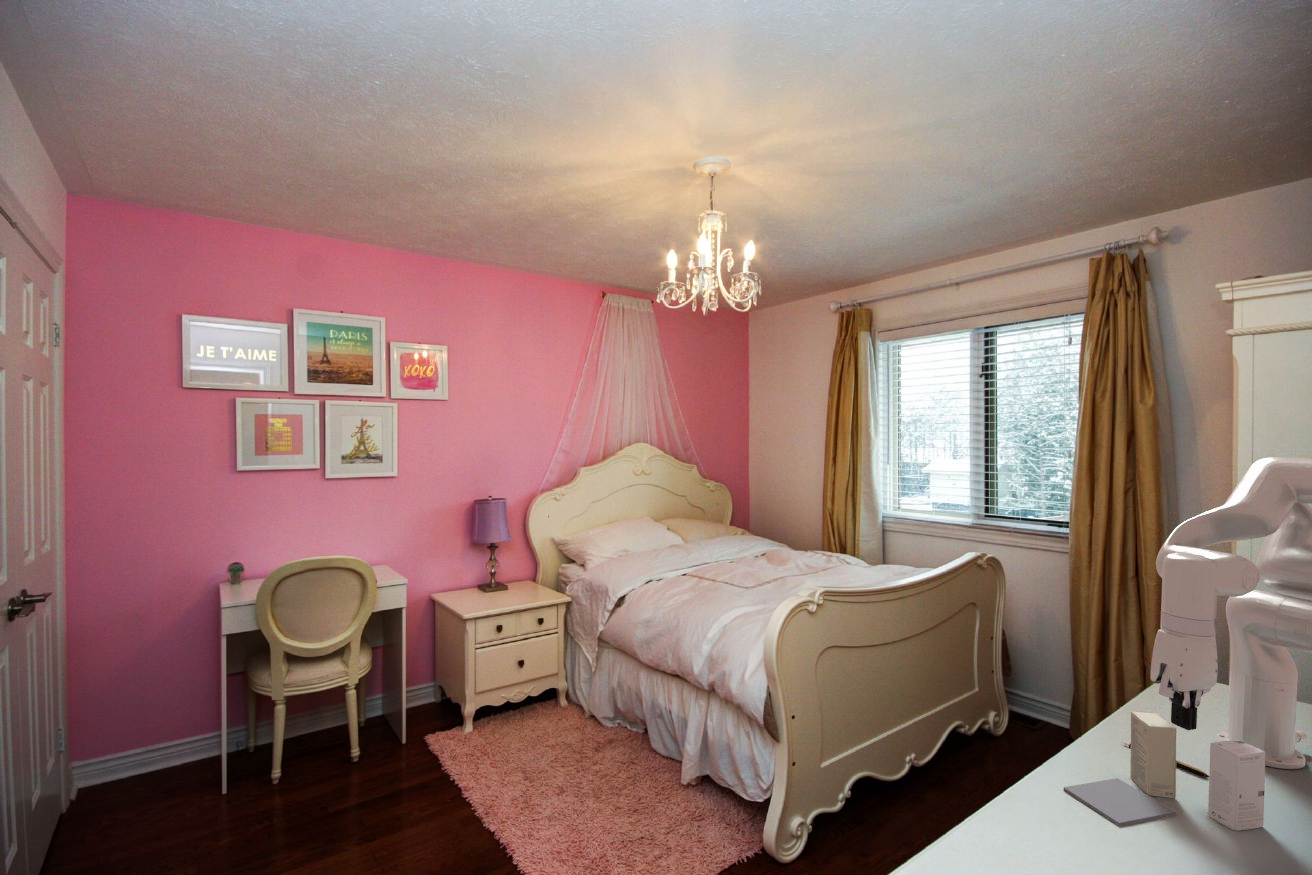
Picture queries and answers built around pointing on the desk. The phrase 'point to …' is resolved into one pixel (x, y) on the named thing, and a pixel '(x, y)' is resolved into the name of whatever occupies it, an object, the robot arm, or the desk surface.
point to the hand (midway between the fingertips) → (1183, 726)
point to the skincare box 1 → (1153, 754)
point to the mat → (1119, 801)
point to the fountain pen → (1186, 767)
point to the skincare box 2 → (1236, 785)
